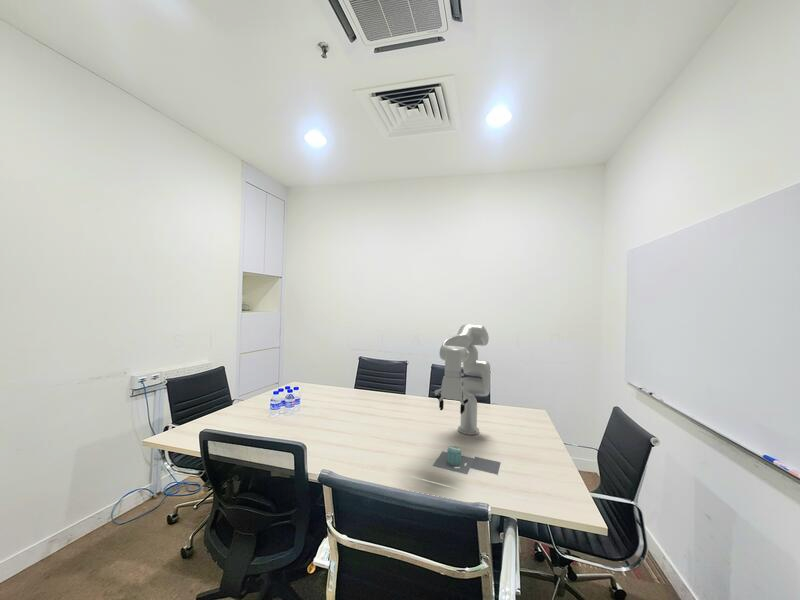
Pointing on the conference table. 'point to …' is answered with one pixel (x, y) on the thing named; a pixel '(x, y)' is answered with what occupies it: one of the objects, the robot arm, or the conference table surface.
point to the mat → (486, 465)
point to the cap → (454, 455)
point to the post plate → (460, 468)
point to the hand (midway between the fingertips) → (451, 411)
